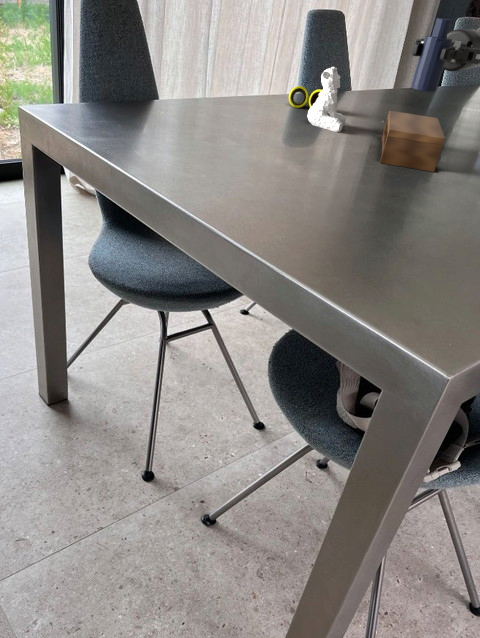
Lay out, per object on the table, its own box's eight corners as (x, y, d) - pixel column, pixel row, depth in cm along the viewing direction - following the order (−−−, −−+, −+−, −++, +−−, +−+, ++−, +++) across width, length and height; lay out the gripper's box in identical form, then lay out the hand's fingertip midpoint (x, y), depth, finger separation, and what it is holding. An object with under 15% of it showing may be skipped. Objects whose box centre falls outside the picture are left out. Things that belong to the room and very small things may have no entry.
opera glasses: (326, 113, 145) (331, 92, 143) (324, 112, 141) (329, 90, 139) (290, 107, 148) (294, 86, 146) (286, 106, 143) (291, 84, 141)
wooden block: (428, 147, 122) (437, 118, 118) (433, 172, 106) (445, 138, 102) (381, 140, 123) (389, 110, 120) (379, 162, 107) (389, 129, 104)
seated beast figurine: (340, 133, 125) (354, 72, 118) (302, 126, 126) (313, 66, 119) (344, 125, 132) (358, 67, 125) (308, 119, 134) (319, 62, 127)
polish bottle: (435, 89, 115) (456, 20, 108) (436, 92, 111) (459, 21, 104) (410, 85, 116) (430, 16, 109) (411, 89, 112) (431, 17, 105)
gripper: (489, 76, 117) (457, 81, 106) (424, 64, 124) (389, 67, 114) (504, 34, 113) (472, 35, 102) (436, 24, 120) (400, 23, 109)
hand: (428, 52), depth 108 cm, fingers closed on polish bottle, 5 cm apart
